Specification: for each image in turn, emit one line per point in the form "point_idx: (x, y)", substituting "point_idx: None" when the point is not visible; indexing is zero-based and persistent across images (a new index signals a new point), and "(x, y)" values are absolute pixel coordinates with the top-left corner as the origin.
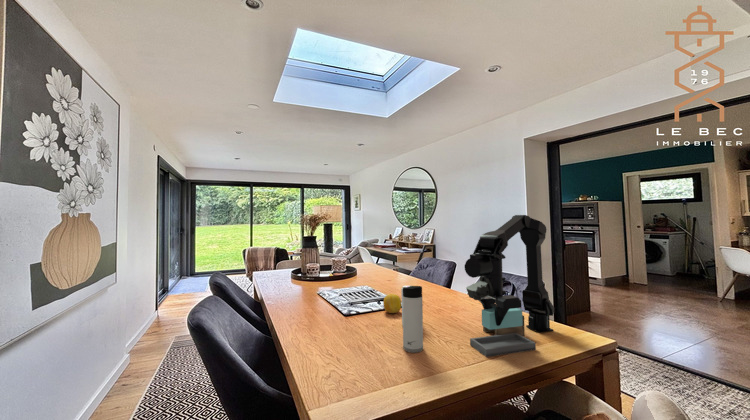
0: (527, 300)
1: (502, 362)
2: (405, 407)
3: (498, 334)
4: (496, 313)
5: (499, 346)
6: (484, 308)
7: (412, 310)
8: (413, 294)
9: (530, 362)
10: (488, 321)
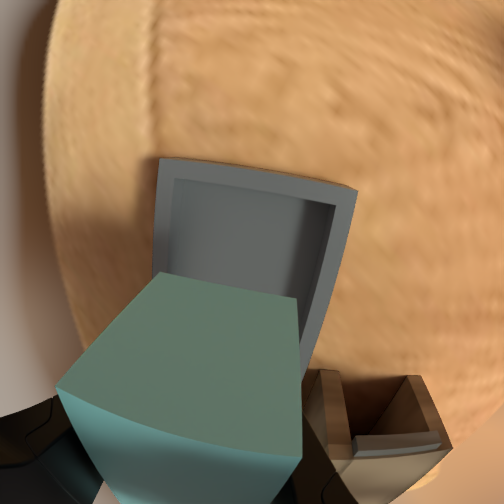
0: None
1: (109, 193)
2: None
3: (320, 392)
4: (30, 416)
5: (165, 268)
6: (324, 494)
7: None
8: None
9: (87, 300)
10: (140, 316)
